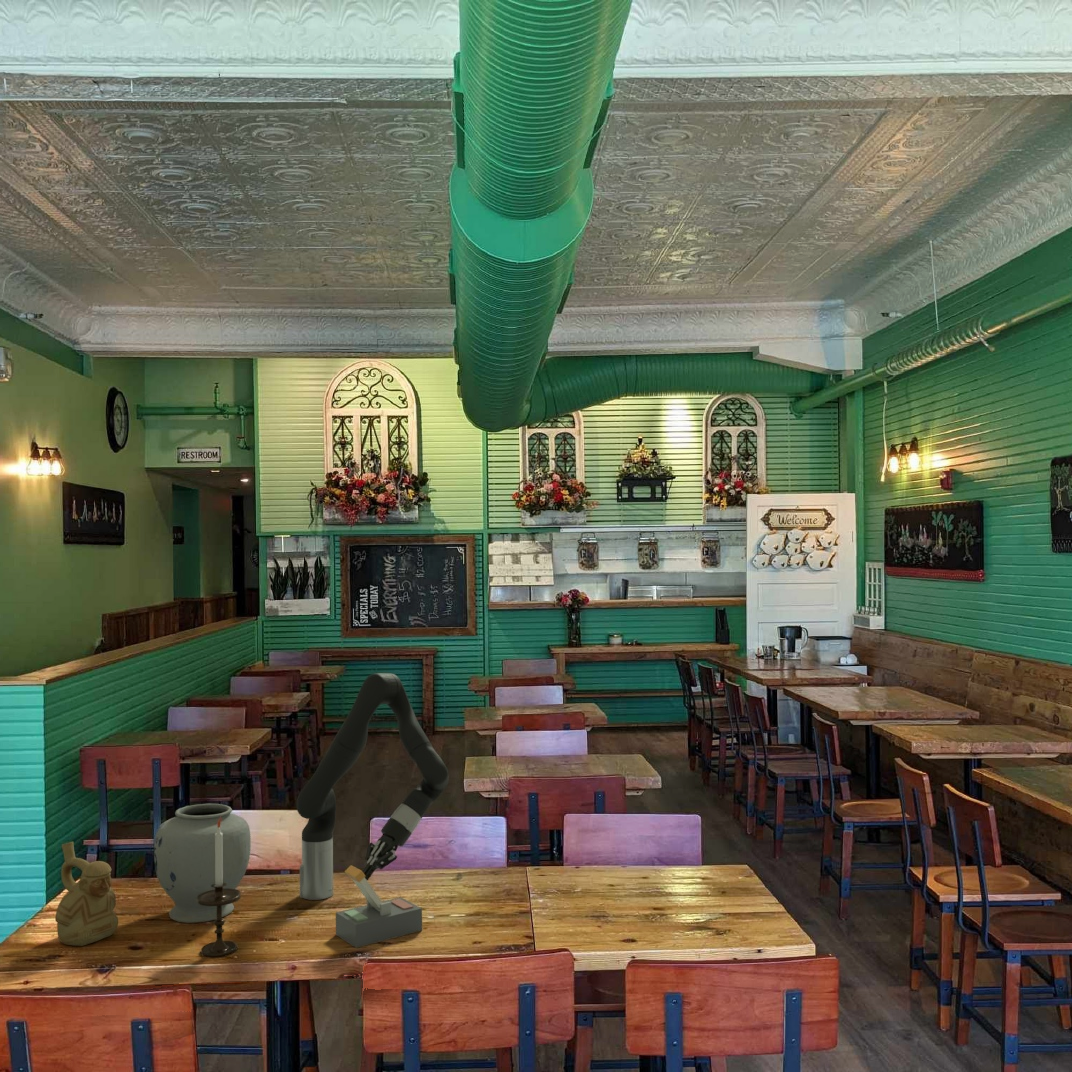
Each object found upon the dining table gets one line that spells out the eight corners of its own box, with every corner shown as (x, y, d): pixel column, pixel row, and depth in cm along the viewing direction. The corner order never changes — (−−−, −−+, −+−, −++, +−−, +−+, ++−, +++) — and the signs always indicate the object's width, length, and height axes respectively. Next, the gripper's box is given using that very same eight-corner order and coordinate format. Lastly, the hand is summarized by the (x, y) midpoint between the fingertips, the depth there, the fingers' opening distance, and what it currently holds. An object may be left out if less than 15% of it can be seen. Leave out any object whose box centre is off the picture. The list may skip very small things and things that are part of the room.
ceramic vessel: (78, 955, 260) (78, 858, 261) (35, 941, 270) (35, 847, 271) (135, 934, 274) (135, 842, 275) (91, 921, 285) (91, 833, 286)
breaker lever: (382, 914, 270) (355, 877, 266) (371, 908, 275) (344, 871, 271) (388, 908, 272) (361, 870, 267) (377, 901, 277) (351, 865, 272)
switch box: (355, 947, 262) (355, 913, 263) (335, 934, 272) (335, 901, 272) (422, 930, 274) (421, 897, 275) (400, 918, 284) (400, 886, 284)
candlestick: (248, 949, 262) (248, 815, 263) (210, 962, 254) (210, 823, 255) (227, 939, 269) (226, 808, 270) (189, 951, 261) (189, 816, 262)
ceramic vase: (234, 891, 310) (233, 794, 310) (264, 915, 288) (263, 810, 289) (143, 909, 294) (143, 807, 295) (168, 936, 272) (168, 825, 273)
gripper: (381, 812, 282) (342, 865, 274) (404, 821, 271) (365, 876, 264) (398, 828, 285) (360, 880, 277) (422, 837, 274) (383, 892, 267)
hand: (362, 878), depth 271 cm, fingers closed
